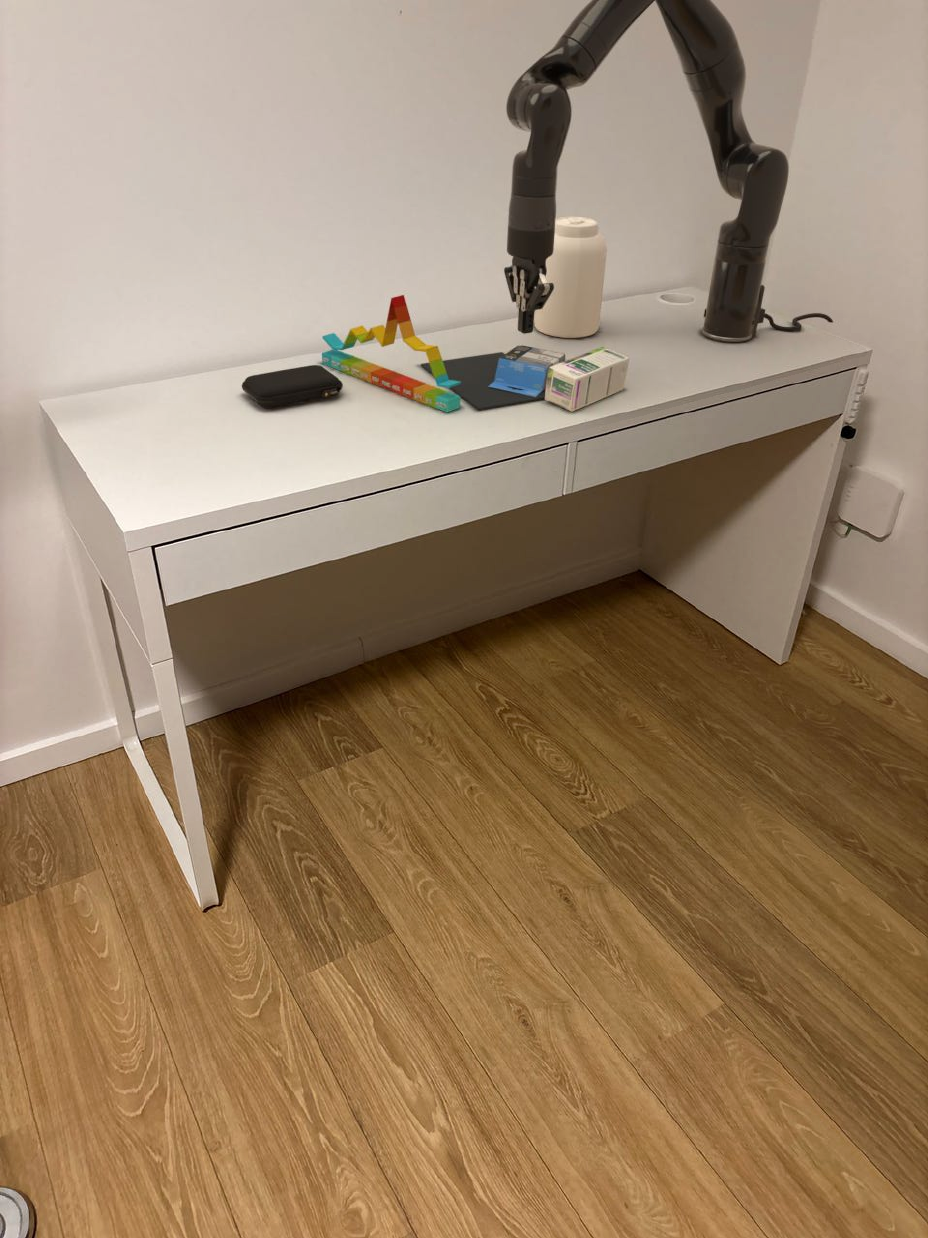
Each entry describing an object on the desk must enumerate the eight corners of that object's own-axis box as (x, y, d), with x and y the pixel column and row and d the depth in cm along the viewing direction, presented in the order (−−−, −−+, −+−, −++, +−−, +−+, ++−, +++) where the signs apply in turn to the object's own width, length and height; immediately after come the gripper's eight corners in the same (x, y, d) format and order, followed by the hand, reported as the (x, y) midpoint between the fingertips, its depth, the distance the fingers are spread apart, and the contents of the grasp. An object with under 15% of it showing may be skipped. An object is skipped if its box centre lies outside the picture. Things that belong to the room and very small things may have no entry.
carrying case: (264, 415, 149) (350, 398, 156) (262, 396, 147) (350, 380, 154) (239, 393, 156) (322, 377, 163) (237, 374, 155) (321, 360, 161)
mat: (501, 354, 175) (501, 351, 175) (565, 395, 159) (565, 393, 159) (420, 365, 169) (420, 363, 169) (478, 410, 153) (478, 408, 153)
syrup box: (630, 356, 159) (576, 377, 150) (624, 390, 162) (570, 412, 153) (602, 346, 162) (548, 365, 153) (596, 379, 165) (543, 400, 156)
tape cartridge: (566, 352, 164) (538, 374, 155) (564, 374, 166) (537, 397, 157) (518, 343, 167) (488, 364, 158) (517, 365, 169) (487, 387, 160)
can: (538, 316, 194) (545, 210, 183) (601, 322, 192) (612, 214, 181) (529, 336, 184) (536, 224, 173) (595, 341, 182) (607, 229, 171)
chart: (321, 363, 169) (315, 275, 160) (335, 359, 171) (330, 271, 162) (446, 413, 152) (447, 317, 143) (460, 407, 154) (462, 312, 145)
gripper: (573, 230, 151) (564, 340, 160) (531, 213, 160) (525, 318, 170) (531, 234, 148) (525, 346, 158) (491, 216, 158) (487, 323, 167)
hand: (525, 331), depth 164 cm, fingers closed
